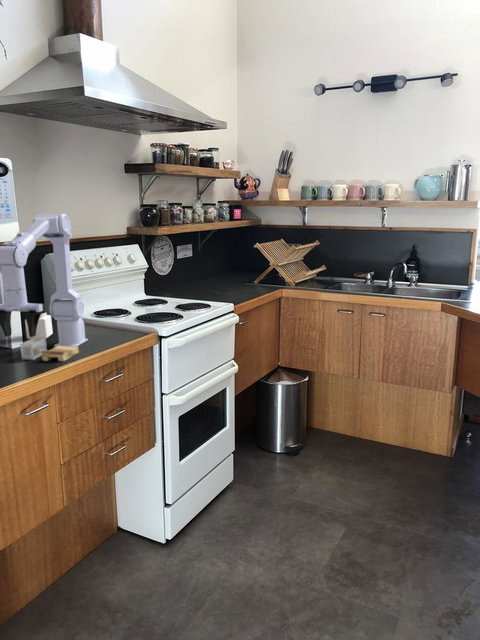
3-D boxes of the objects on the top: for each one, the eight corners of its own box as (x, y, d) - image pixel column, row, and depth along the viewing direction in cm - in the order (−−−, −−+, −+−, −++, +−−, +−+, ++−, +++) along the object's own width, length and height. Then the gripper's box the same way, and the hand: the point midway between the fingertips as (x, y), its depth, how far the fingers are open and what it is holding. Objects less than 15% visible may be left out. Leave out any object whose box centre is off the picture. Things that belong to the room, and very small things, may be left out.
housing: (35, 352, 171) (34, 337, 170) (47, 352, 170) (45, 337, 169) (21, 359, 163) (19, 344, 162) (33, 360, 162) (31, 344, 161)
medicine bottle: (53, 333, 195) (49, 302, 193) (46, 338, 188) (43, 305, 186) (33, 334, 195) (30, 302, 192) (26, 339, 188) (22, 306, 186)
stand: (58, 351, 171) (57, 342, 170) (78, 352, 169) (77, 343, 169) (42, 360, 161) (41, 351, 160) (63, 361, 160) (62, 351, 159)
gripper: (-18, 291, 145) (-12, 339, 148) (30, 291, 142) (36, 340, 145) (-2, 287, 151) (3, 333, 154) (44, 287, 149) (49, 333, 152)
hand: (20, 336), depth 150 cm, fingers open, 7 cm apart
